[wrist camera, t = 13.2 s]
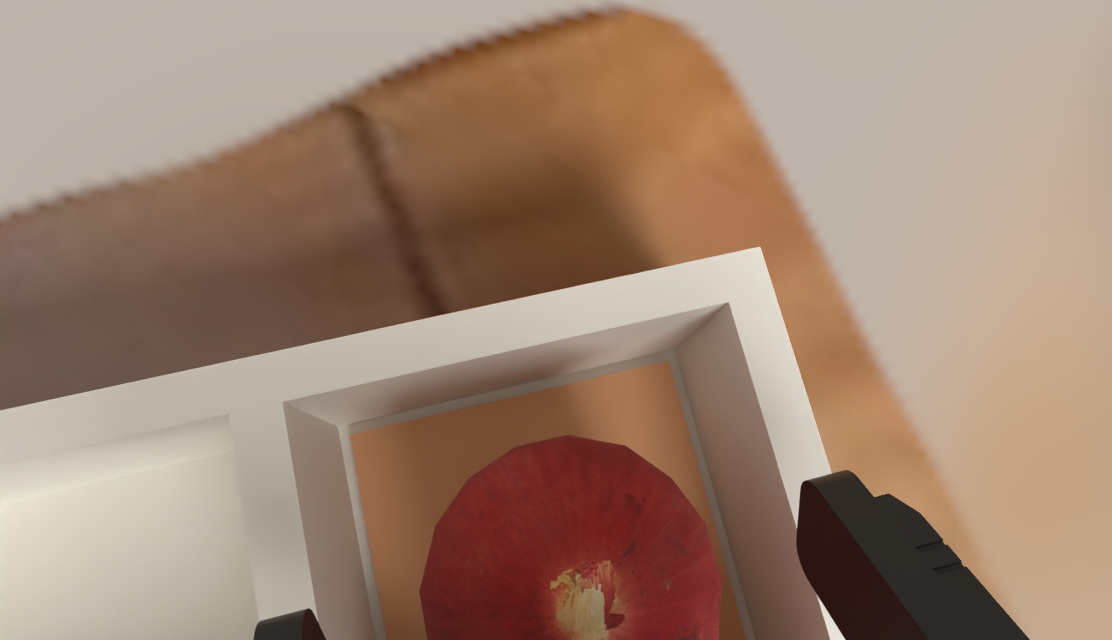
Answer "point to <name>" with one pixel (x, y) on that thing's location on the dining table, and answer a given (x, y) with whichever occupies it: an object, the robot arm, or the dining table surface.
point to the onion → (571, 551)
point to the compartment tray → (405, 461)
